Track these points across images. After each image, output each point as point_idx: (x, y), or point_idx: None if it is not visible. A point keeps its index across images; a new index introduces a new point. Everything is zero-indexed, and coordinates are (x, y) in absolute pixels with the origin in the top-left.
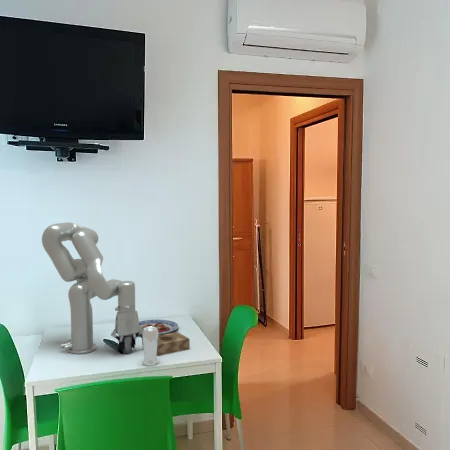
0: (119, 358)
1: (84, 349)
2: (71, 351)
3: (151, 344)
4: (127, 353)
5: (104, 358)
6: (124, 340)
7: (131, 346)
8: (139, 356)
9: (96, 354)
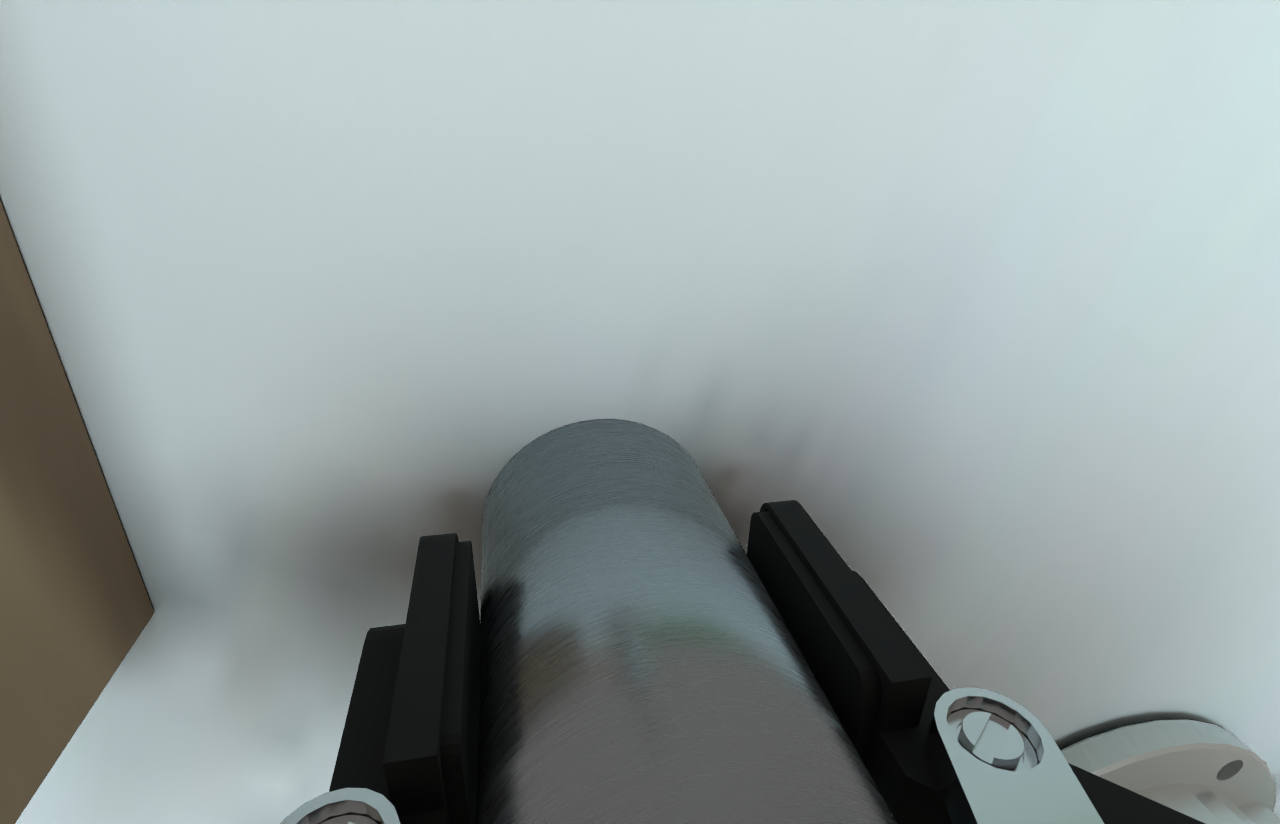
0: (894, 263)
1: (1171, 794)
2: (1271, 790)
3: None
4: (640, 431)
5: (1095, 417)
6: (844, 738)
7: (531, 557)
8: (389, 108)
9: (1064, 641)
